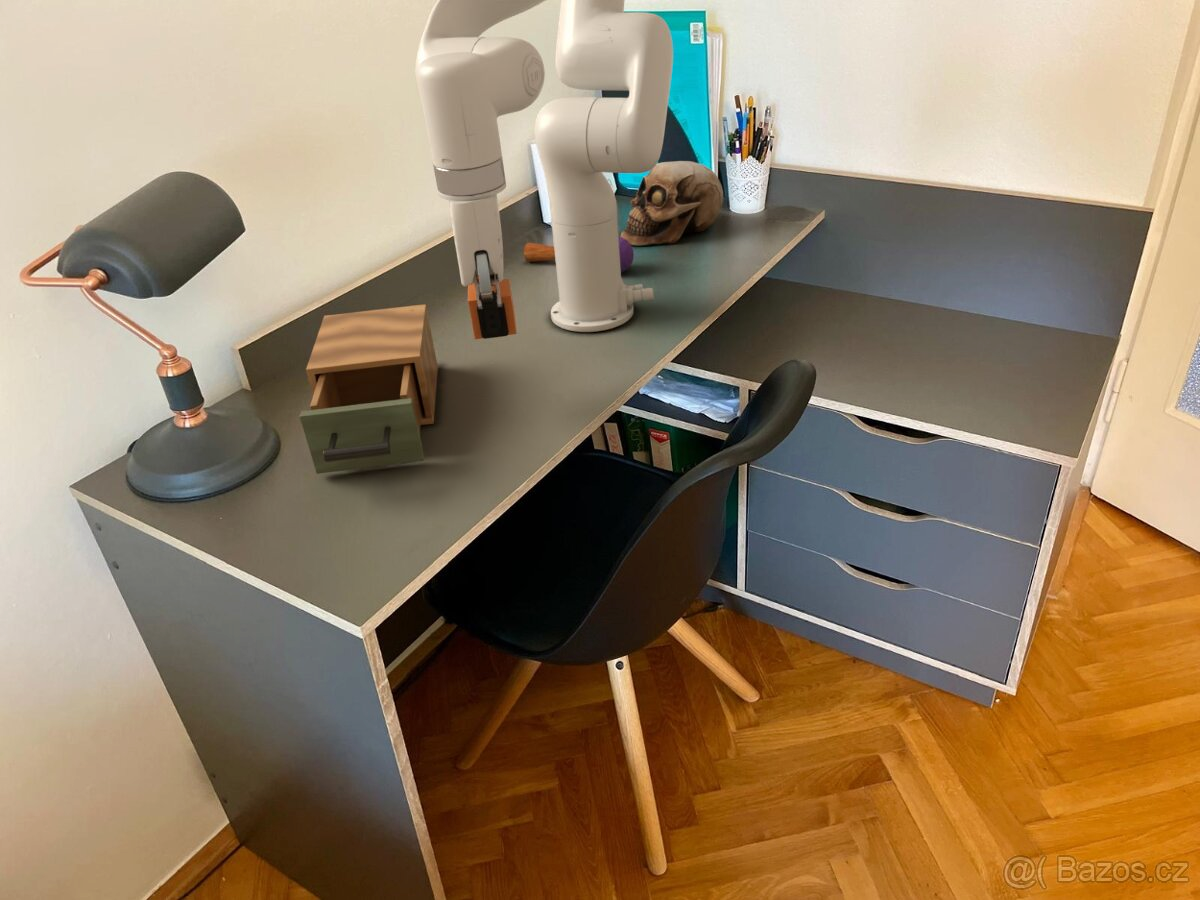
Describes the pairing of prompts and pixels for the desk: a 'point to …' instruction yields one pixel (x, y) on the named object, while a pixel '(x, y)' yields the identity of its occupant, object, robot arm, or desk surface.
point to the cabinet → (378, 347)
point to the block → (505, 298)
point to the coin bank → (673, 203)
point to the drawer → (365, 418)
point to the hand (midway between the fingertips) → (494, 324)
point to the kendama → (547, 253)
